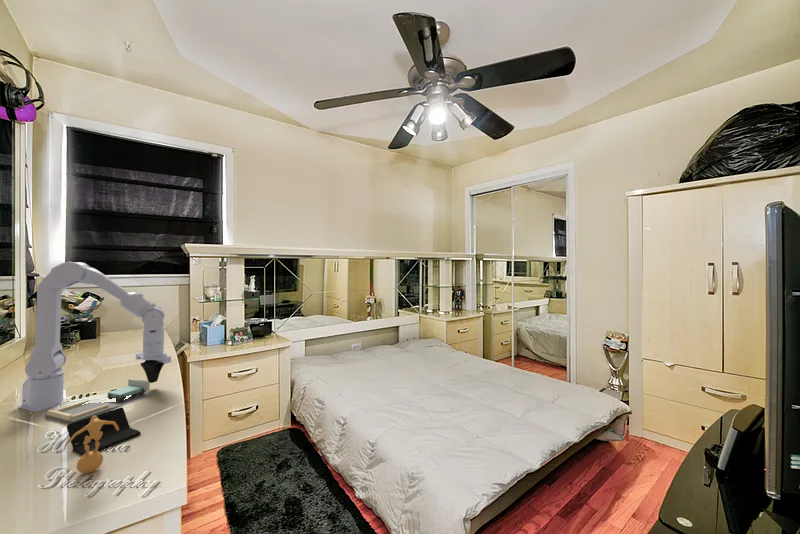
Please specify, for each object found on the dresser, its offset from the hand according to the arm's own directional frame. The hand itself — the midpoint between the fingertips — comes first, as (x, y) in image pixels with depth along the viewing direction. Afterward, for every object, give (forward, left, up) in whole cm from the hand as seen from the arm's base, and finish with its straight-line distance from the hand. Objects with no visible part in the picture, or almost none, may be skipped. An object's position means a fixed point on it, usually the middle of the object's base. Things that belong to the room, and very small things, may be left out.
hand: (152, 381), depth 112 cm
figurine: (+36, -36, -3) cm, 51 cm away
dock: (0, -14, -3) cm, 14 cm away
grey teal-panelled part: (0, -8, -2) cm, 8 cm away
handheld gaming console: (+23, -27, -3) cm, 36 cm away
